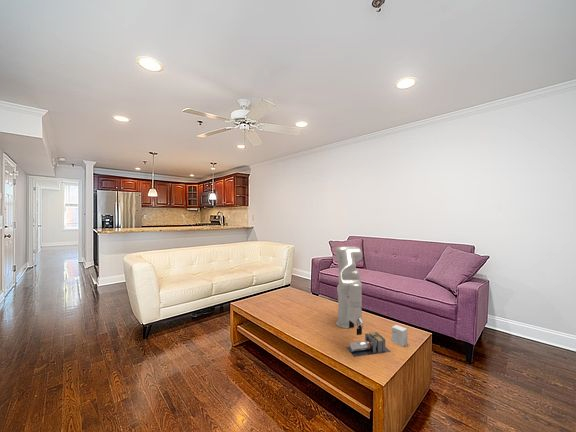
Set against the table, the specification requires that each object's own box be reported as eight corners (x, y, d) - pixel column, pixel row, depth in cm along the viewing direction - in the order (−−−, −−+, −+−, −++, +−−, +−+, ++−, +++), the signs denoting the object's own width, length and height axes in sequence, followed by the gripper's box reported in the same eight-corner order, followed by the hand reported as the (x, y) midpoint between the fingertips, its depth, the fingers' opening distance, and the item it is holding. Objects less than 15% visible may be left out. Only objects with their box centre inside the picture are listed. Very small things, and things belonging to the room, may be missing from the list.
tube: (353, 353, 156) (352, 344, 157) (349, 350, 161) (348, 341, 162) (379, 349, 160) (378, 340, 161) (375, 346, 165) (374, 338, 166)
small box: (407, 344, 168) (407, 328, 168) (402, 347, 165) (402, 331, 164) (396, 339, 174) (396, 324, 174) (391, 342, 171) (391, 326, 171)
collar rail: (345, 348, 164) (345, 334, 164) (380, 343, 169) (381, 330, 169) (354, 358, 153) (354, 343, 153) (391, 352, 159) (391, 338, 158)
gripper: (343, 299, 166) (343, 325, 166) (356, 308, 149) (356, 338, 149) (354, 298, 168) (354, 324, 168) (368, 307, 151) (368, 336, 151)
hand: (355, 331), depth 158 cm, fingers open, 9 cm apart
